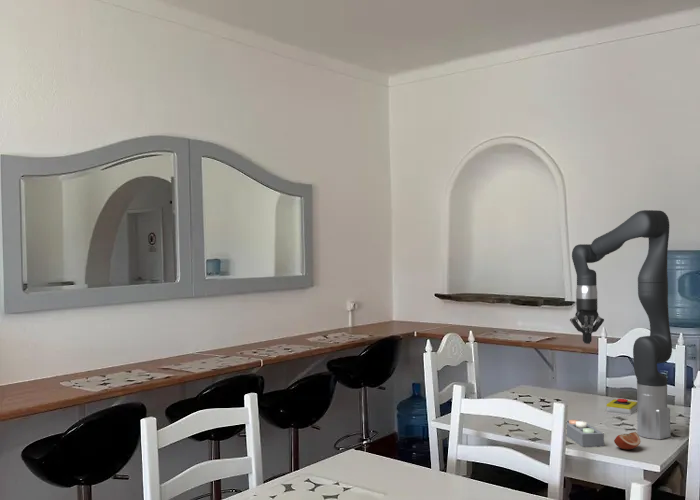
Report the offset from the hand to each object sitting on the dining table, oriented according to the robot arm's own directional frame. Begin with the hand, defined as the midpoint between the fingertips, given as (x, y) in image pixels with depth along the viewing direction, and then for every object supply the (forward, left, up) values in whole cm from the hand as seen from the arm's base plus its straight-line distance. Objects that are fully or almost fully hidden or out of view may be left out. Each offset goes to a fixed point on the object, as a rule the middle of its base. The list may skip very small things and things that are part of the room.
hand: (587, 343), depth 252 cm
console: (-20, +28, -27) cm, 43 cm away
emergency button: (-2, -17, -28) cm, 33 cm away
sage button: (-24, +30, -25) cm, 46 cm away
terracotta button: (-15, +25, -25) cm, 38 cm away
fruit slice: (-35, +25, -27) cm, 51 cm away
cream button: (-20, +28, -24) cm, 41 cm away
